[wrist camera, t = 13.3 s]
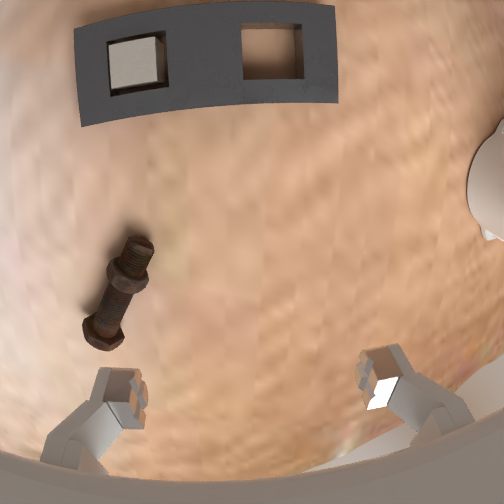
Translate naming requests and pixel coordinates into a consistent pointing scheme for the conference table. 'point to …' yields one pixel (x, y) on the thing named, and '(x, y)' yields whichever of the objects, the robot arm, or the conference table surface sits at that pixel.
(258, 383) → the conference table surface
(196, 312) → the conference table surface
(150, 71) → the wood grain block
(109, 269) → the bolt
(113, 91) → the grey slotted board
